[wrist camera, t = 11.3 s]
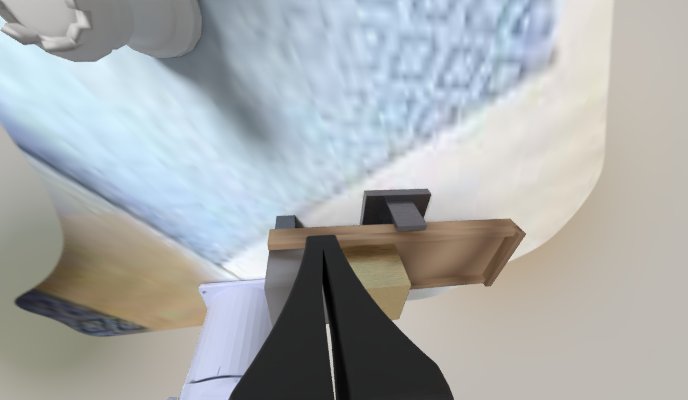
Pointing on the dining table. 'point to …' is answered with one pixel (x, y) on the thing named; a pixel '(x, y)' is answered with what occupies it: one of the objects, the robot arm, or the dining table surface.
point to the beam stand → (385, 209)
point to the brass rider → (381, 275)
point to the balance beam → (402, 253)
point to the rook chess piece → (104, 26)
